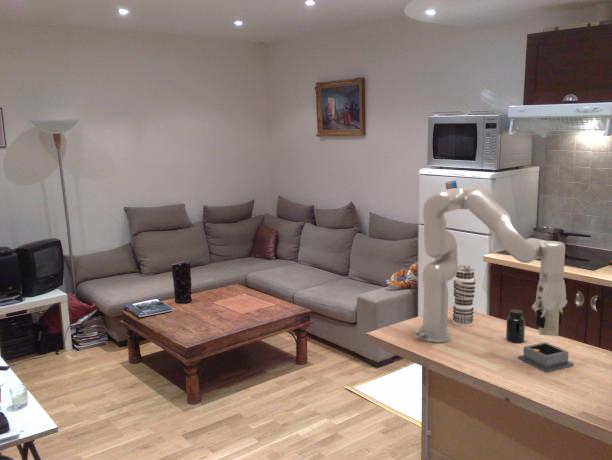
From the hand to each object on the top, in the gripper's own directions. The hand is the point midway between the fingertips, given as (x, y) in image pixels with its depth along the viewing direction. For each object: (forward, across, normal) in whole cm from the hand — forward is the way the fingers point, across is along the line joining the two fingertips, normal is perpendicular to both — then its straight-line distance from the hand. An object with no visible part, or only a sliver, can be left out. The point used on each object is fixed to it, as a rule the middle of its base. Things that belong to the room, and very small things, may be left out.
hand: (548, 324), depth 198 cm
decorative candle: (+14, +1, +46) cm, 48 cm away
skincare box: (+4, 0, 0) cm, 4 cm away
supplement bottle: (+14, +6, +21) cm, 26 cm away
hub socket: (+14, 0, 0) cm, 14 cm away
